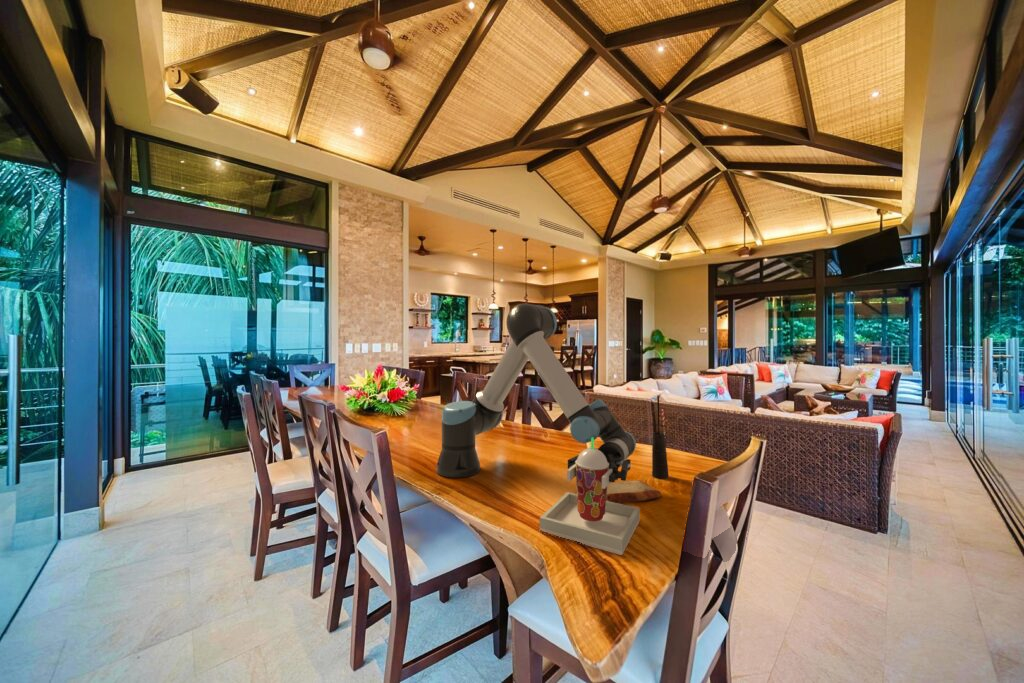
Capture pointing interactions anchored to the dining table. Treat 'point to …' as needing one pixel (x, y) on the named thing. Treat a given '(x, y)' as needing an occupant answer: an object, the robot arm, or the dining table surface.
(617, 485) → the slice of bread
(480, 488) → the dining table surface
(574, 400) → the robot arm
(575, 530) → the tray
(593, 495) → the smoothie
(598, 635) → the dining table surface
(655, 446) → the black vase with stems
